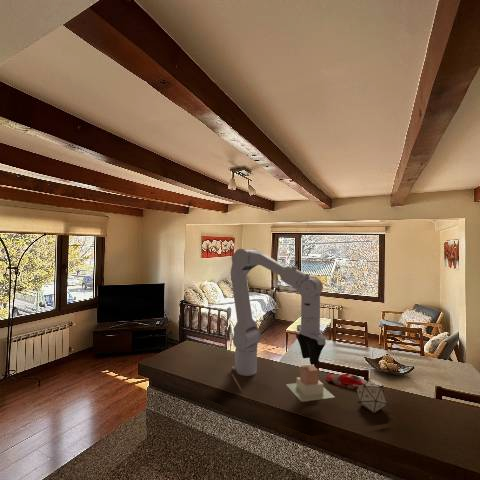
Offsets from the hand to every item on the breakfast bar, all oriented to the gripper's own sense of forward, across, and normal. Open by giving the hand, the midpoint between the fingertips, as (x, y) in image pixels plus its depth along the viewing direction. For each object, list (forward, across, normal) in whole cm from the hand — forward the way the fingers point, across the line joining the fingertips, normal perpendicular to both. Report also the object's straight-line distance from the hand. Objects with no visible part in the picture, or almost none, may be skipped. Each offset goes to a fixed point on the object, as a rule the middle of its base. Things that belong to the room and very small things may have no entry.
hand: (309, 360), depth 93 cm
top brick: (+6, 0, 0) cm, 6 cm away
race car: (+10, +1, -14) cm, 18 cm away
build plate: (+10, 0, 0) cm, 10 cm away
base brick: (+9, 0, 0) cm, 9 cm away
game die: (+10, -13, -12) cm, 20 cm away
